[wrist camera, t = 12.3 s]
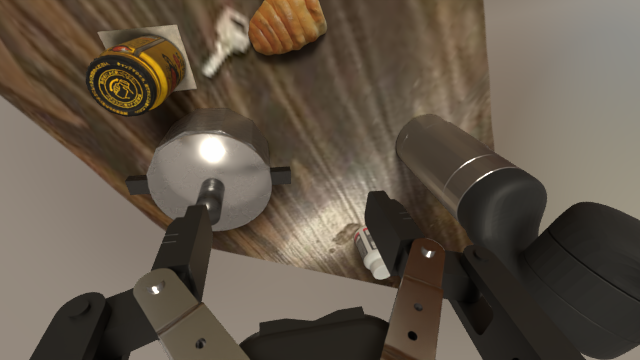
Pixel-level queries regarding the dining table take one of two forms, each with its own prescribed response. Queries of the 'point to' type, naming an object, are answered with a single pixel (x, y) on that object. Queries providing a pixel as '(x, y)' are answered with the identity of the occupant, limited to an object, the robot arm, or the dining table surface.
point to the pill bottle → (370, 253)
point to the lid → (210, 178)
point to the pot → (222, 123)
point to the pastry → (286, 25)
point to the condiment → (139, 69)
